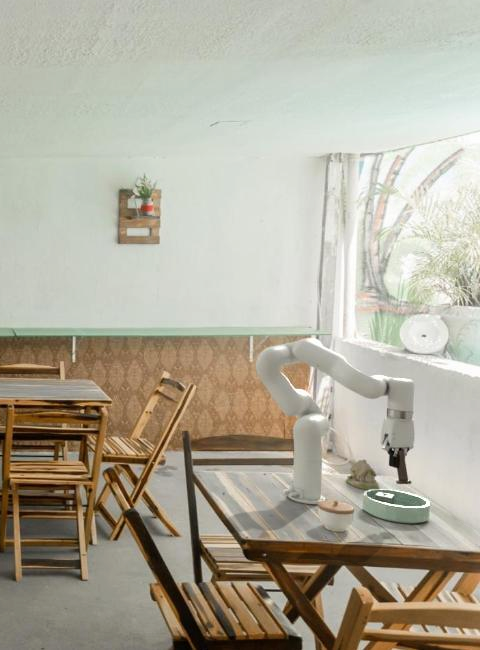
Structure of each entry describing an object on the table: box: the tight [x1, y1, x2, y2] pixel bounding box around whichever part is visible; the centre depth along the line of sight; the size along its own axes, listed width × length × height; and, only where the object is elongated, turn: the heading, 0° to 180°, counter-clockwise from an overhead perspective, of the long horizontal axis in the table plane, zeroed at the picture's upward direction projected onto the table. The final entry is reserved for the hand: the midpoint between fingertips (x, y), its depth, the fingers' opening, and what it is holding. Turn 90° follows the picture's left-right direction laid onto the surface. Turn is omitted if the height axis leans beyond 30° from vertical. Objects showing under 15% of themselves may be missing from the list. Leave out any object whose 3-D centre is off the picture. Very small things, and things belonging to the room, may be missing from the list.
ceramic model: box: [346, 459, 380, 490], centre depth 271 cm, size 14×11×10 cm
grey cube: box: [375, 492, 394, 505], centre depth 241 cm, size 5×5×5 cm
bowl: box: [362, 488, 431, 524], centre depth 237 cm, size 20×20×6 cm
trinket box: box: [317, 499, 355, 533], centre depth 224 cm, size 11×11×9 cm
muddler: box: [395, 451, 412, 485], centre depth 231 cm, size 4×4×11 cm
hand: (396, 466), depth 232 cm, fingers closed on muddler, 2 cm apart
